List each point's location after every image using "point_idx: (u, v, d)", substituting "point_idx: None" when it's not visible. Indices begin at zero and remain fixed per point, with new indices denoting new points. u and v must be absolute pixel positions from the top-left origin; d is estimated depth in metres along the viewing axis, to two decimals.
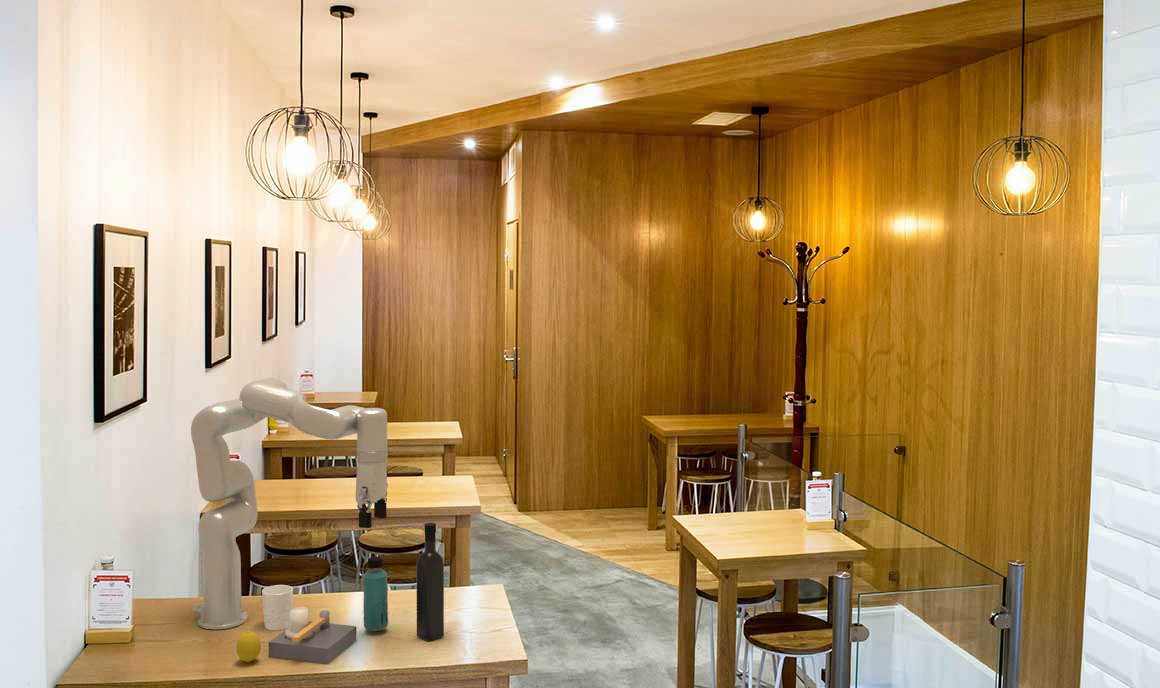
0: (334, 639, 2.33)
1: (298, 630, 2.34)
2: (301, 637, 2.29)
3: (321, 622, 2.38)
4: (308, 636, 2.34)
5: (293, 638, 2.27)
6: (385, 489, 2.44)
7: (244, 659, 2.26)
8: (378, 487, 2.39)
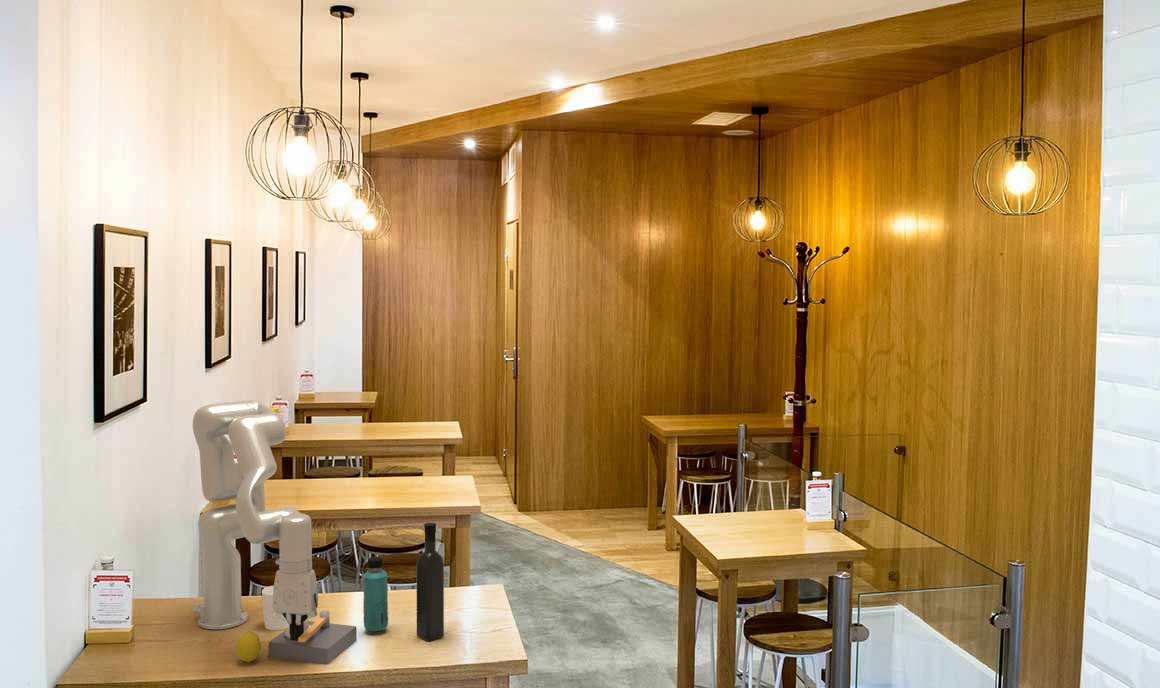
0: (334, 639, 2.33)
1: None
2: (307, 637, 2.28)
3: (323, 622, 2.38)
4: None
5: (300, 639, 2.27)
6: None
7: (244, 659, 2.26)
8: None
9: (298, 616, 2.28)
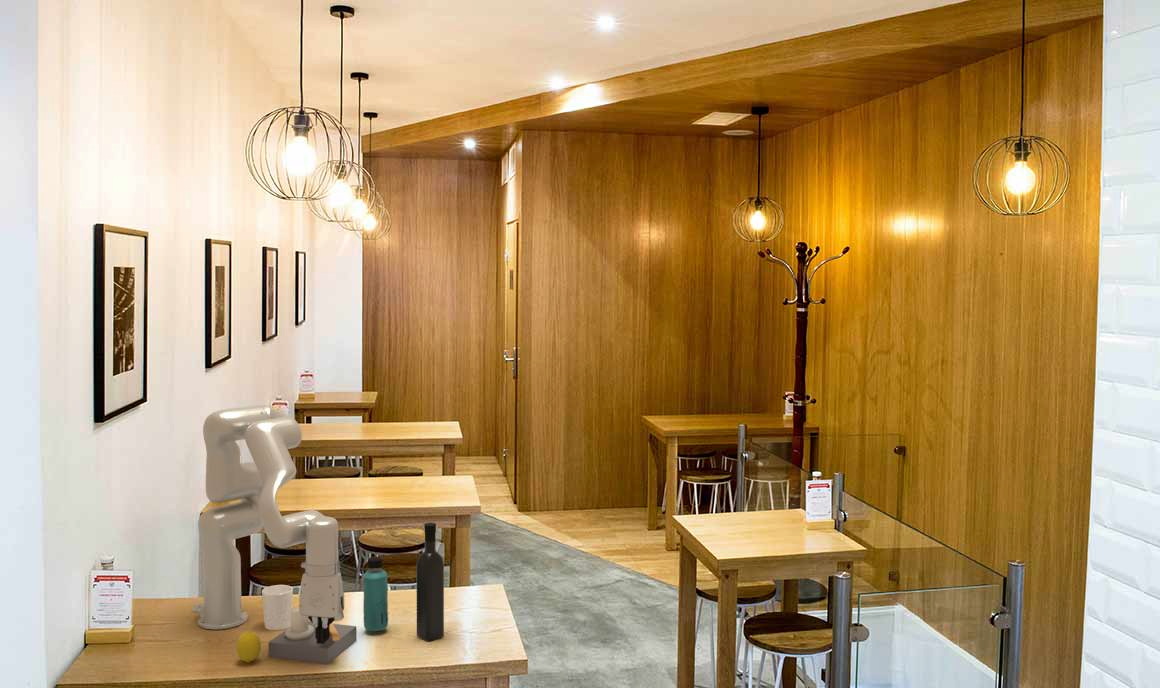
0: None
1: (298, 630, 2.34)
2: None
3: None
4: (308, 636, 2.34)
5: (334, 637, 2.28)
6: None
7: (244, 659, 2.26)
8: None
9: (325, 619, 2.28)
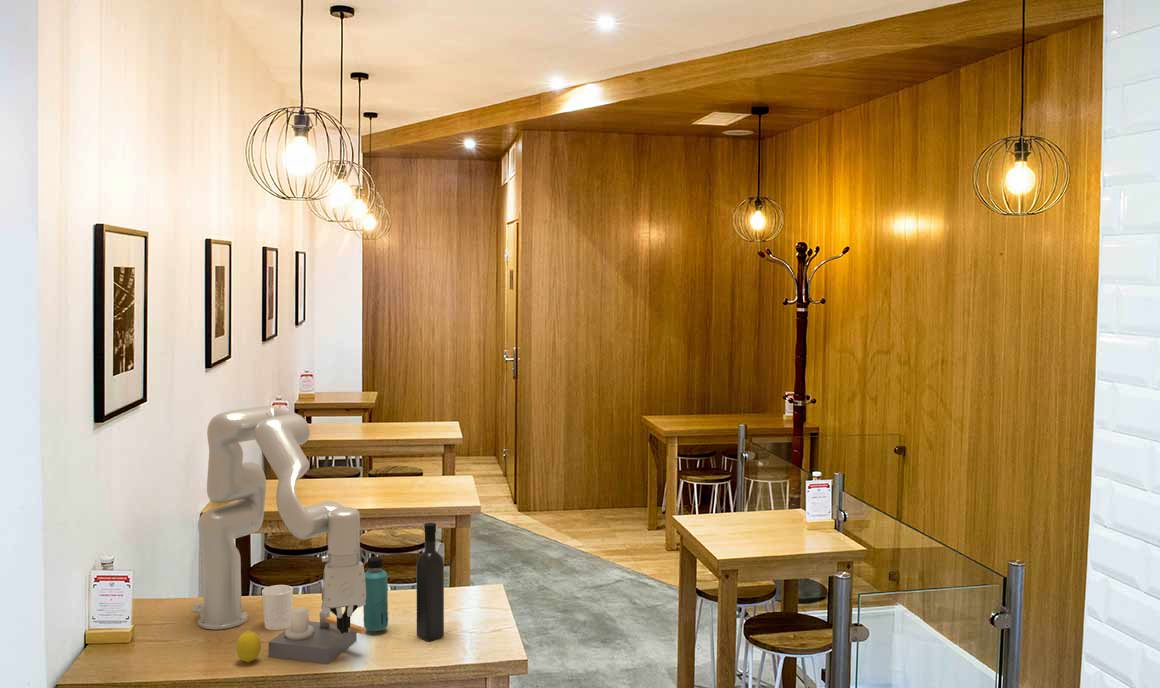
0: (334, 639, 2.33)
1: (298, 630, 2.34)
2: None
3: None
4: (308, 636, 2.34)
5: (362, 630, 2.33)
6: None
7: (244, 659, 2.26)
8: None
9: (350, 607, 2.31)
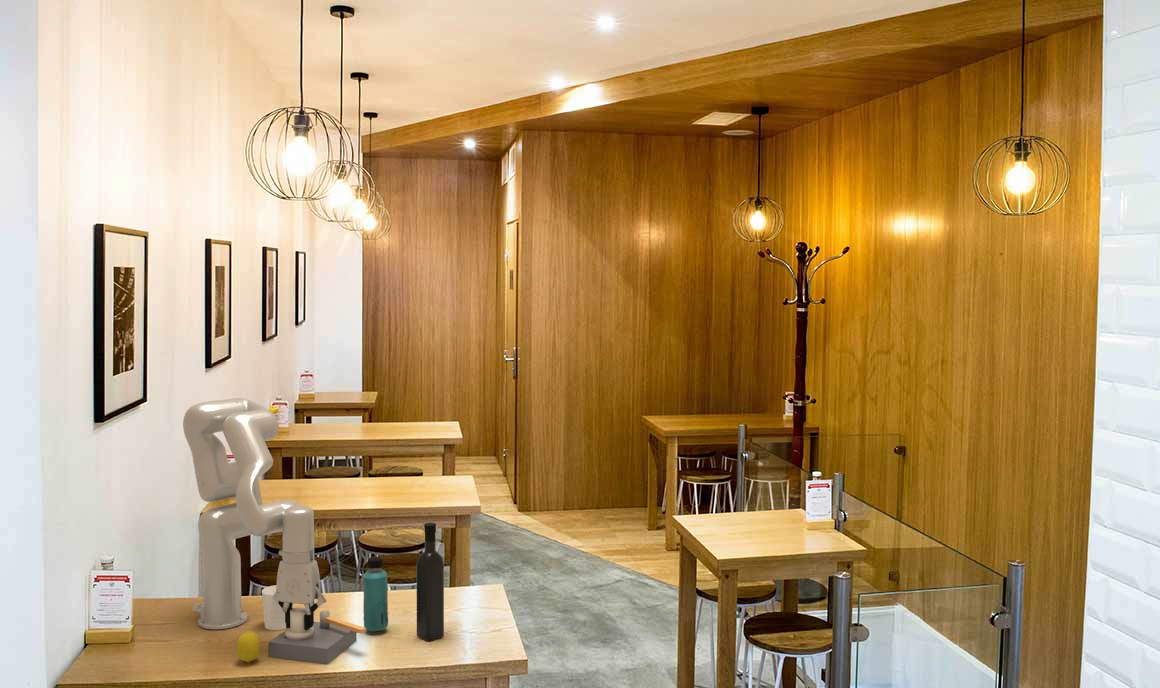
0: (334, 639, 2.33)
1: (298, 630, 2.34)
2: None
3: None
4: (308, 636, 2.34)
5: (362, 630, 2.33)
6: None
7: (244, 659, 2.26)
8: None
9: (306, 606, 2.33)
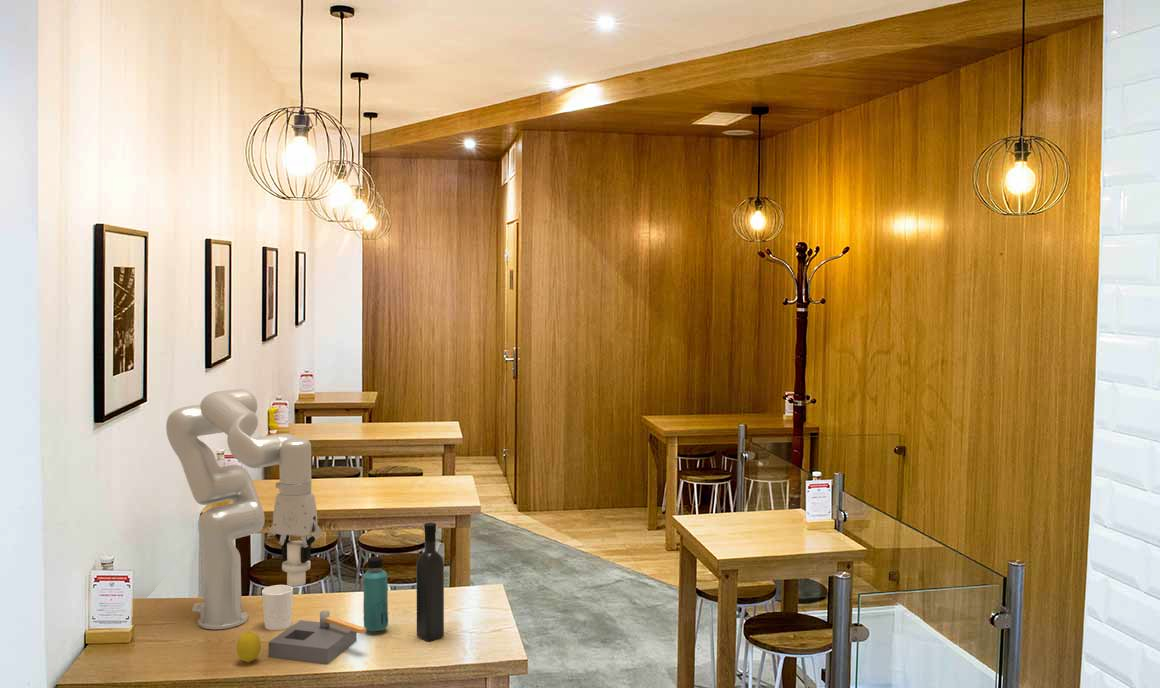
0: (334, 639, 2.33)
1: (295, 563, 2.33)
2: None
3: None
4: (305, 569, 2.33)
5: (362, 630, 2.33)
6: None
7: (244, 659, 2.26)
8: None
9: (303, 538, 2.32)
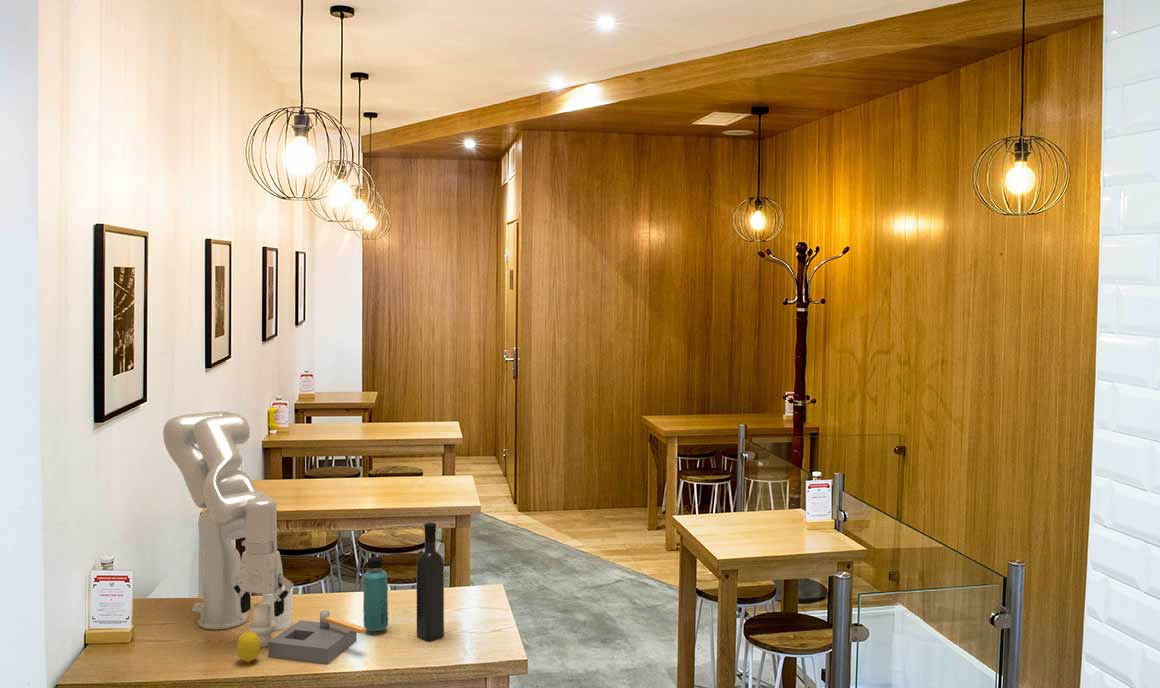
0: (334, 639, 2.33)
1: (261, 625, 2.37)
2: None
3: None
4: (271, 631, 2.38)
5: (362, 630, 2.33)
6: None
7: (244, 659, 2.26)
8: None
9: (274, 594, 2.36)
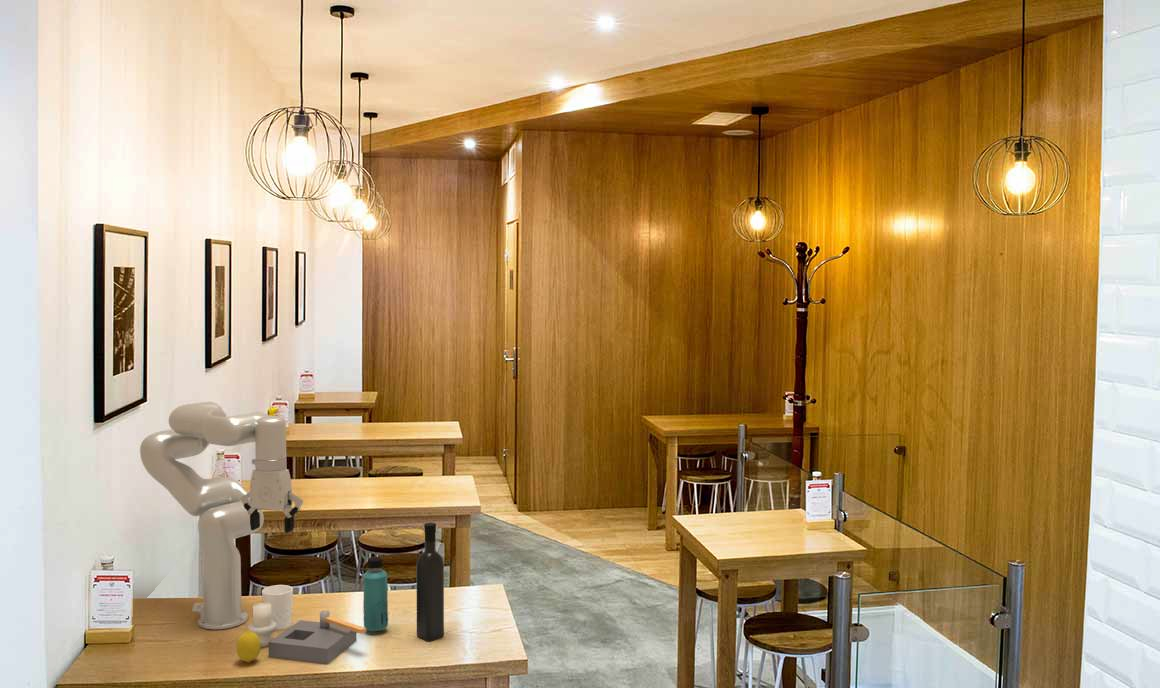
0: (334, 639, 2.33)
1: (261, 625, 2.37)
2: None
3: None
4: (270, 631, 2.37)
5: (362, 630, 2.33)
6: None
7: (244, 659, 2.26)
8: None
9: (284, 510, 2.40)
